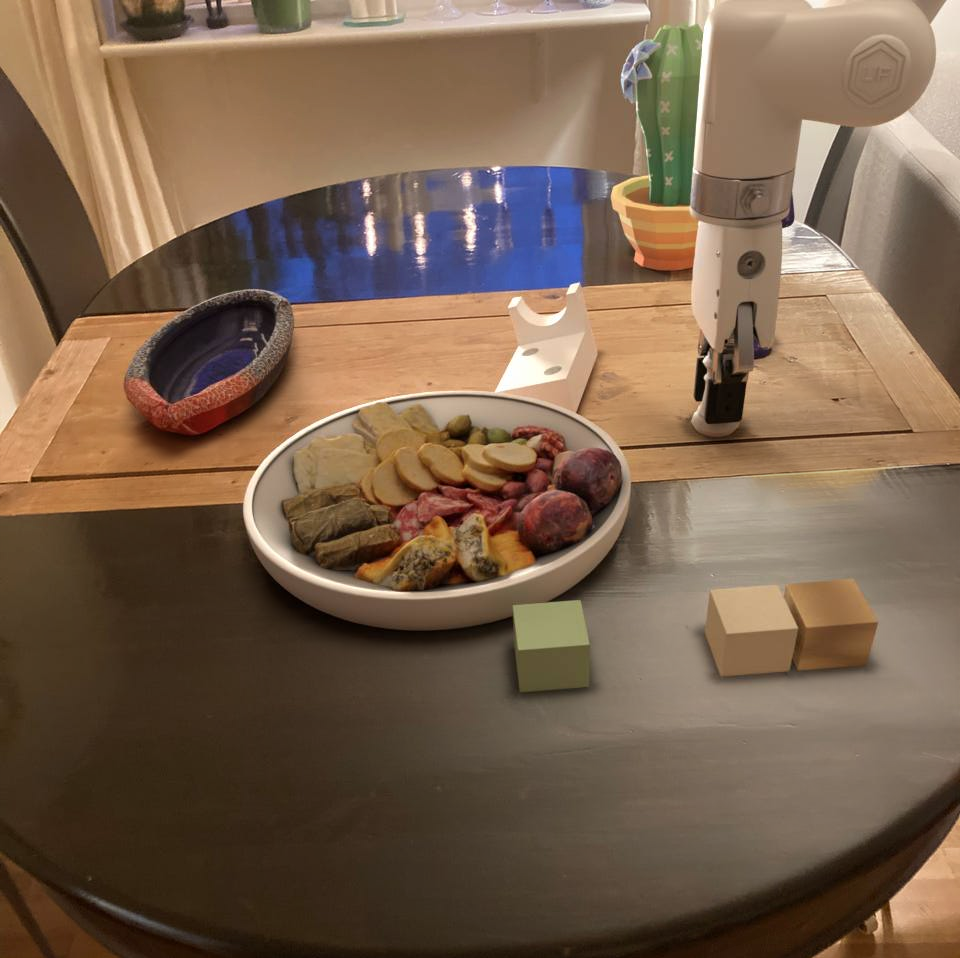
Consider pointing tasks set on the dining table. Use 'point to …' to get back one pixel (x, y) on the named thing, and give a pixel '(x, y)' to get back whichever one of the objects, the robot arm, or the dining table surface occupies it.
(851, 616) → the birch block
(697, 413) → the rook chess piece
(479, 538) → the bowl
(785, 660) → the cream block
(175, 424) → the dish
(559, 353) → the bracket
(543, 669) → the sage block
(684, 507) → the dining table surface
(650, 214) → the potted cactus
